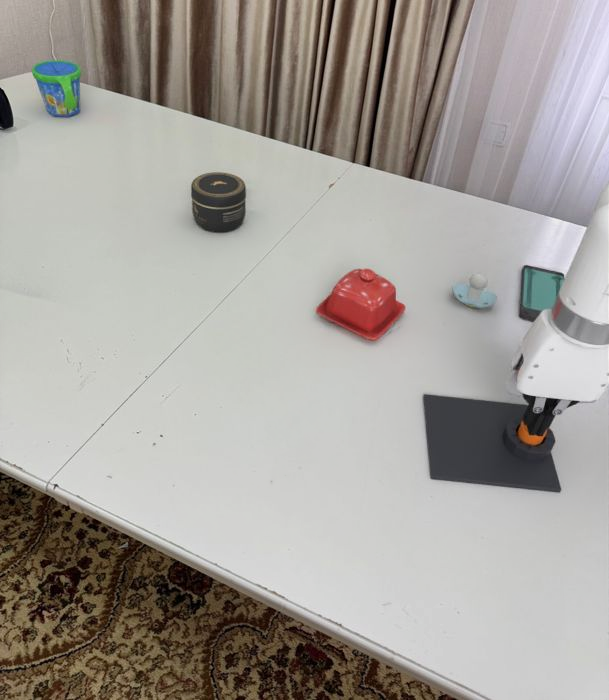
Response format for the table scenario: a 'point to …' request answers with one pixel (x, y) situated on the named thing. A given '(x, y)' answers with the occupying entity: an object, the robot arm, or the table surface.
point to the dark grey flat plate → (485, 445)
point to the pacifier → (475, 292)
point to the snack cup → (59, 86)
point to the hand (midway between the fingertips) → (533, 427)
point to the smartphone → (538, 291)
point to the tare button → (528, 438)
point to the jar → (218, 201)
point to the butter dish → (363, 304)
